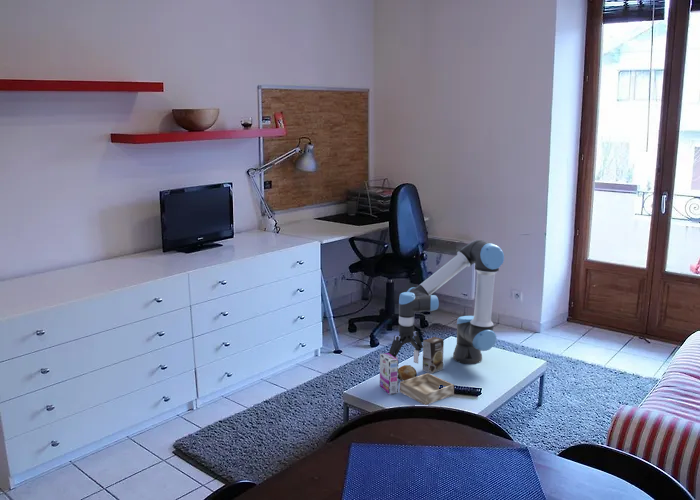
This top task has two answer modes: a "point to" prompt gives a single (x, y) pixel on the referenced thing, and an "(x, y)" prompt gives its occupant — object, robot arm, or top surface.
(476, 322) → the robot arm
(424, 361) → the coffee box
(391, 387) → the candy bar box
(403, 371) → the bread roll
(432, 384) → the wooden tray
